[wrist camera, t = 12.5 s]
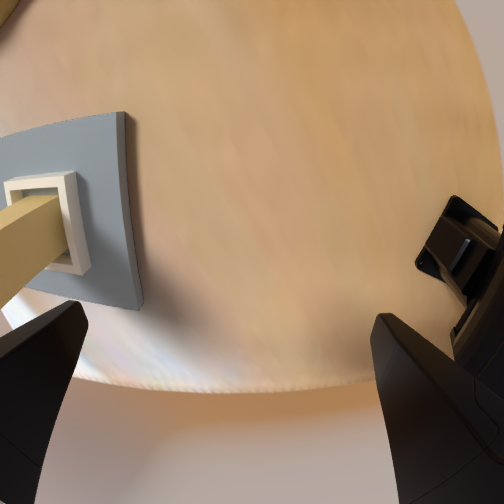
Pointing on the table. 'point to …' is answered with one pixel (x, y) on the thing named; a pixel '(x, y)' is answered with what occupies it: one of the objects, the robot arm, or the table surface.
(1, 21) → the pastry
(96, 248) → the baseplate
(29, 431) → the robot arm
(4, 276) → the pillar
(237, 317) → the table surface
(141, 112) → the table surface
